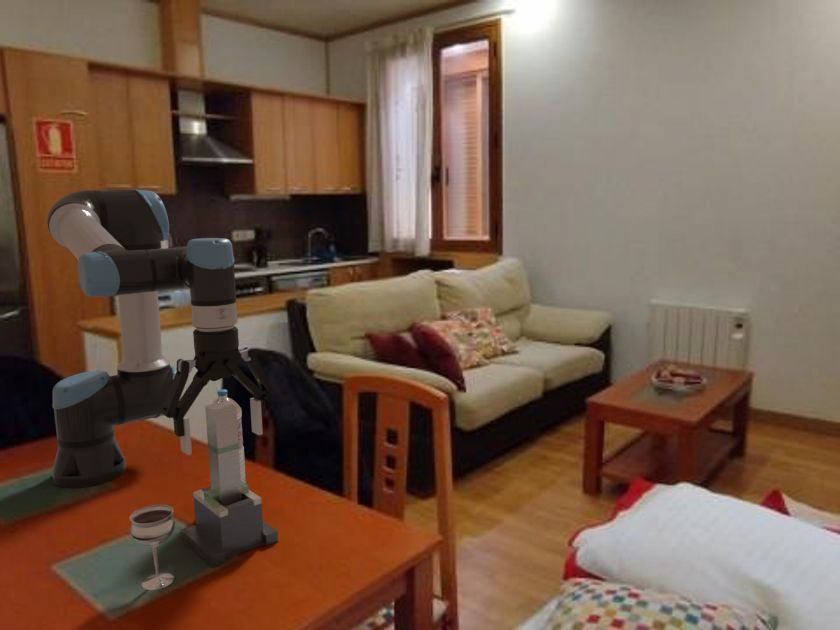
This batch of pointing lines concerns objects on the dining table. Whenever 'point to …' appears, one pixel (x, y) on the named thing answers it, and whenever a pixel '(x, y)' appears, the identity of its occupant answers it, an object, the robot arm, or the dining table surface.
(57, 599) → the dining table surface
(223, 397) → the water bottle
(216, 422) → the column
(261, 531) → the sleeve
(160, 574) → the wineglass
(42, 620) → the dining table surface
